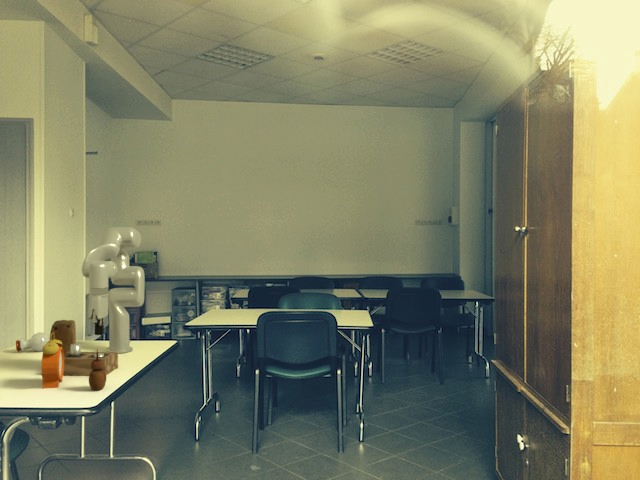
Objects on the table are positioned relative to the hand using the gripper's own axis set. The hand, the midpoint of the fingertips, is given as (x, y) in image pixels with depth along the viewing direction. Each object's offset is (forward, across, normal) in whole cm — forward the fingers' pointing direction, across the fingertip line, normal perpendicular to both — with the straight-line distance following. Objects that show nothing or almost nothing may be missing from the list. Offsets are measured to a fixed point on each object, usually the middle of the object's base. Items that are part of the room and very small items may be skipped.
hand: (99, 334), depth 232 cm
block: (+17, -10, -21) cm, 28 cm away
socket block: (+16, 0, -6) cm, 17 cm away
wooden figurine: (+15, +26, +10) cm, 32 cm away
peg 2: (+15, +1, 0) cm, 15 cm away
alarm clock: (+16, +20, -10) cm, 27 cm away
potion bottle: (+18, -38, -49) cm, 64 cm away
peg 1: (+11, +1, -10) cm, 15 cm away
